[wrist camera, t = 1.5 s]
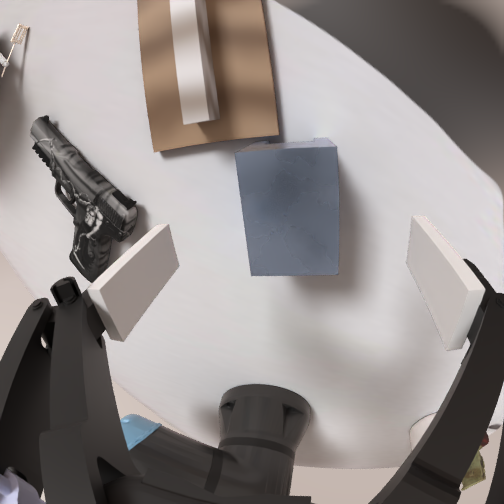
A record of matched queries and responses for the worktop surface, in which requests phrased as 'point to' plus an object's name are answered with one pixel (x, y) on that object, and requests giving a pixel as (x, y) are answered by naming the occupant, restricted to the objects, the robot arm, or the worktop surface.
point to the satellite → (5, 62)
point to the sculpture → (476, 468)
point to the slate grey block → (290, 207)
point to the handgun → (84, 201)
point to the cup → (420, 429)
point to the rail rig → (206, 71)
